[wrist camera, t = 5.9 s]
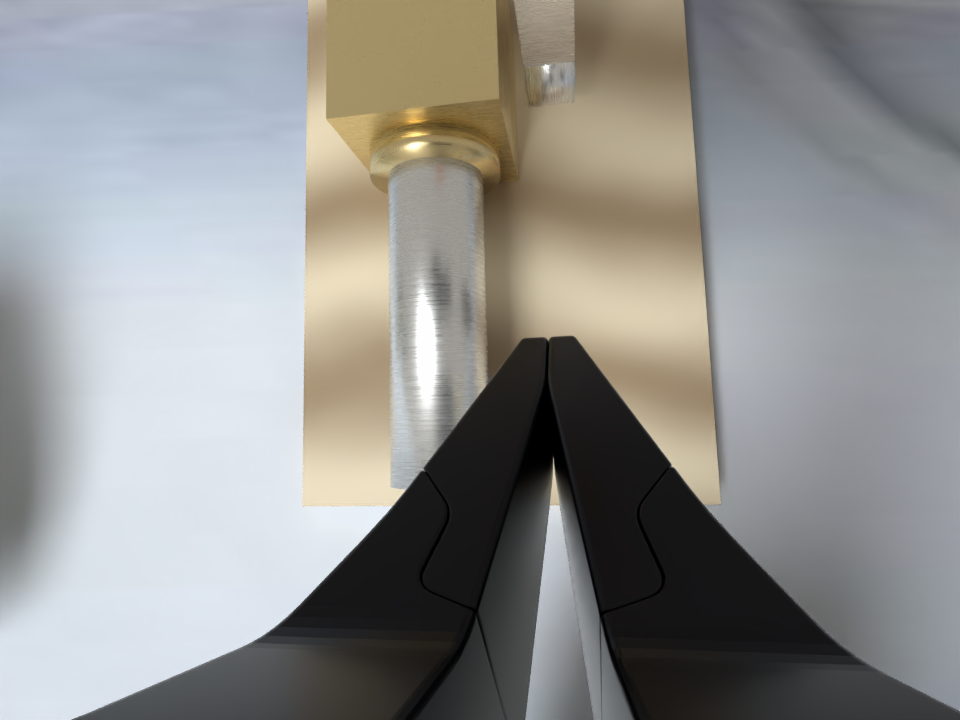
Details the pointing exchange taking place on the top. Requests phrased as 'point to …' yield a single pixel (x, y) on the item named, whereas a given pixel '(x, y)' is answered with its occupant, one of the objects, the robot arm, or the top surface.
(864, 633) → the top surface
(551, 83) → the valve lever
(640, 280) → the mounting board
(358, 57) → the valve pipe
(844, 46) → the top surface
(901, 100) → the top surface
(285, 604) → the top surface
